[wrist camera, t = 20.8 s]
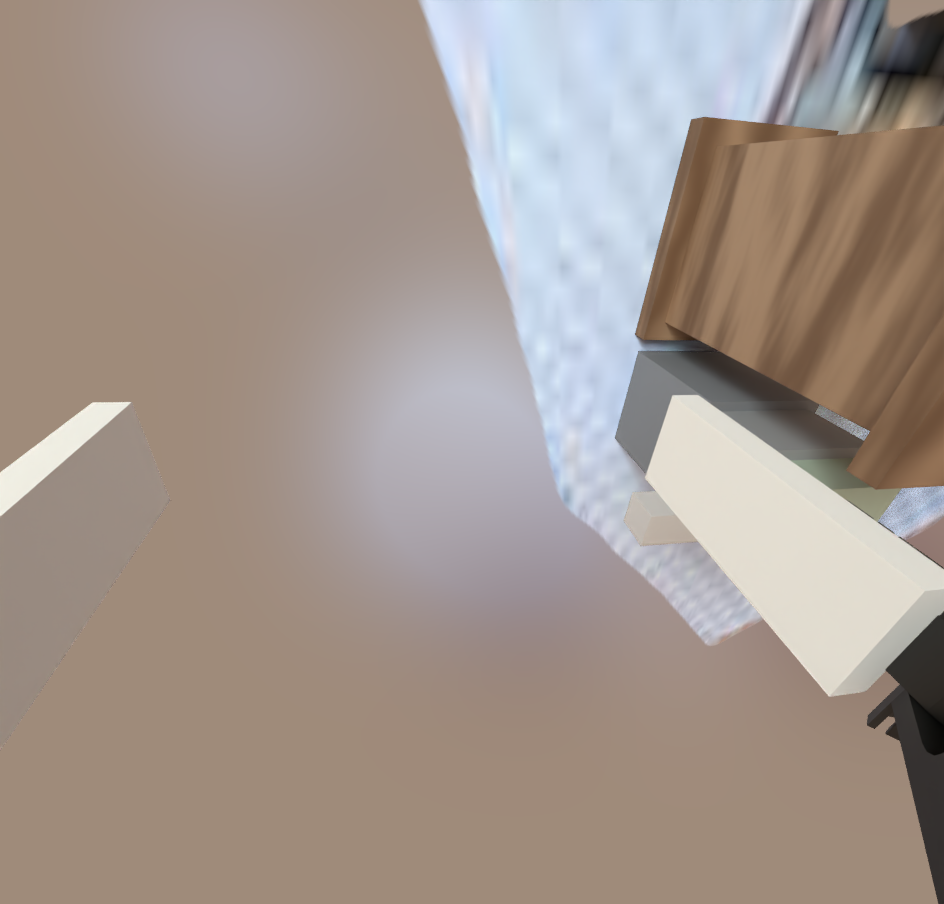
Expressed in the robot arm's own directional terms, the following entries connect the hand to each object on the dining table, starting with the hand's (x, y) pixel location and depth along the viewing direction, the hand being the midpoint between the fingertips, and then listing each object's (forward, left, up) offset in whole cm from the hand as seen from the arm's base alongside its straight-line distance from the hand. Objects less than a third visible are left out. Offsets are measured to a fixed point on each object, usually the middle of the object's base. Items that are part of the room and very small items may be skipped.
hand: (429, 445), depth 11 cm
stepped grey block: (+4, +37, -37) cm, 52 cm away
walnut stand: (-13, +31, -37) cm, 50 cm away
